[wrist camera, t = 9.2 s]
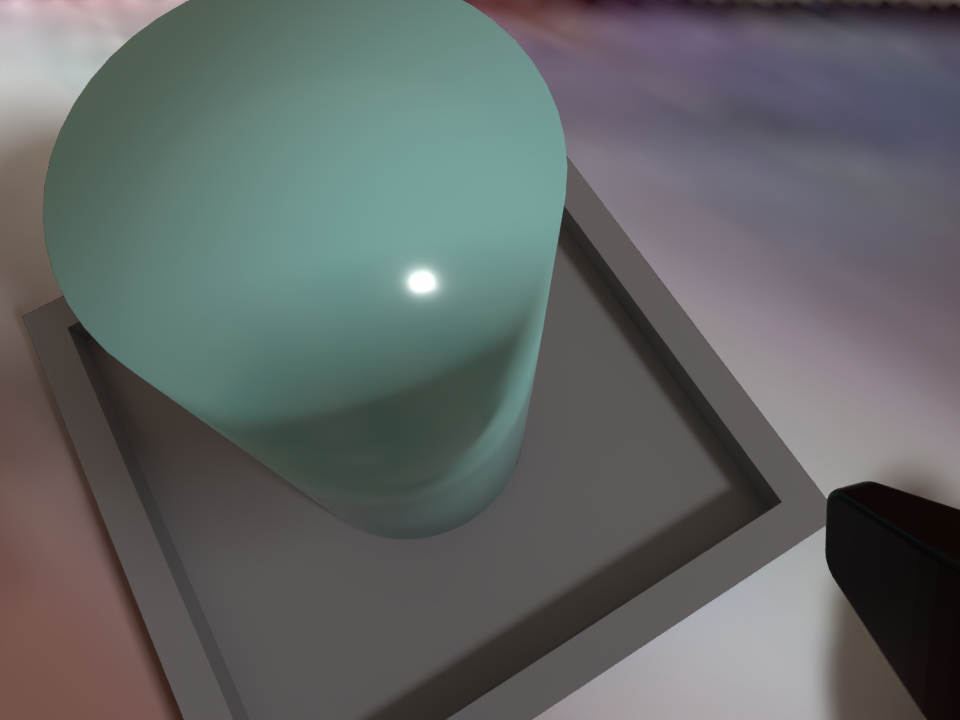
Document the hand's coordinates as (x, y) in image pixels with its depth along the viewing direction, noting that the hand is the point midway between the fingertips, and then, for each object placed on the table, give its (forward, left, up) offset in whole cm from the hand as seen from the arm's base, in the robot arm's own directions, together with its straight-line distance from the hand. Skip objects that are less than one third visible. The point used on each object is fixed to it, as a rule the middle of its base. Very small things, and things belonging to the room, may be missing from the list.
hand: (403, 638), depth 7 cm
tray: (+5, -1, -13) cm, 14 cm away
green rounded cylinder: (+5, -1, -12) cm, 13 cm away
